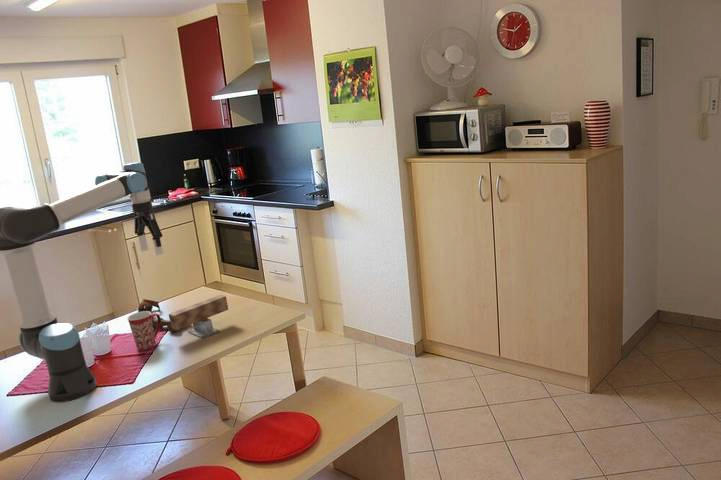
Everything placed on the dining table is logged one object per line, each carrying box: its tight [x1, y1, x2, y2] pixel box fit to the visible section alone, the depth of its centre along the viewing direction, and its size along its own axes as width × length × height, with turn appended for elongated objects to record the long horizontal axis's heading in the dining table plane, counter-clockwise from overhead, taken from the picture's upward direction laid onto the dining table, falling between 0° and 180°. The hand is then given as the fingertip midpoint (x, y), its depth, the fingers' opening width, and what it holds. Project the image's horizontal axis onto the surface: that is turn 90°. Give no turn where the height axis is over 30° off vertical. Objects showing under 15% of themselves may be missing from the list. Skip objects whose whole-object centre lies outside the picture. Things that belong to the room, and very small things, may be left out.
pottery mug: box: [137, 298, 161, 314], centre depth 273 cm, size 12×10×8 cm
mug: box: [126, 311, 162, 351], centre depth 236 cm, size 13×9×14 cm
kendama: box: [152, 316, 180, 334], centre depth 252 cm, size 6×10×20 cm
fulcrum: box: [187, 317, 221, 339], centre depth 243 cm, size 8×12×6 cm, turn 44°
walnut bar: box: [168, 294, 229, 331], centre depth 242 cm, size 24×4×6 cm, turn 134°
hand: (152, 252), depth 241 cm, fingers open, 13 cm apart
